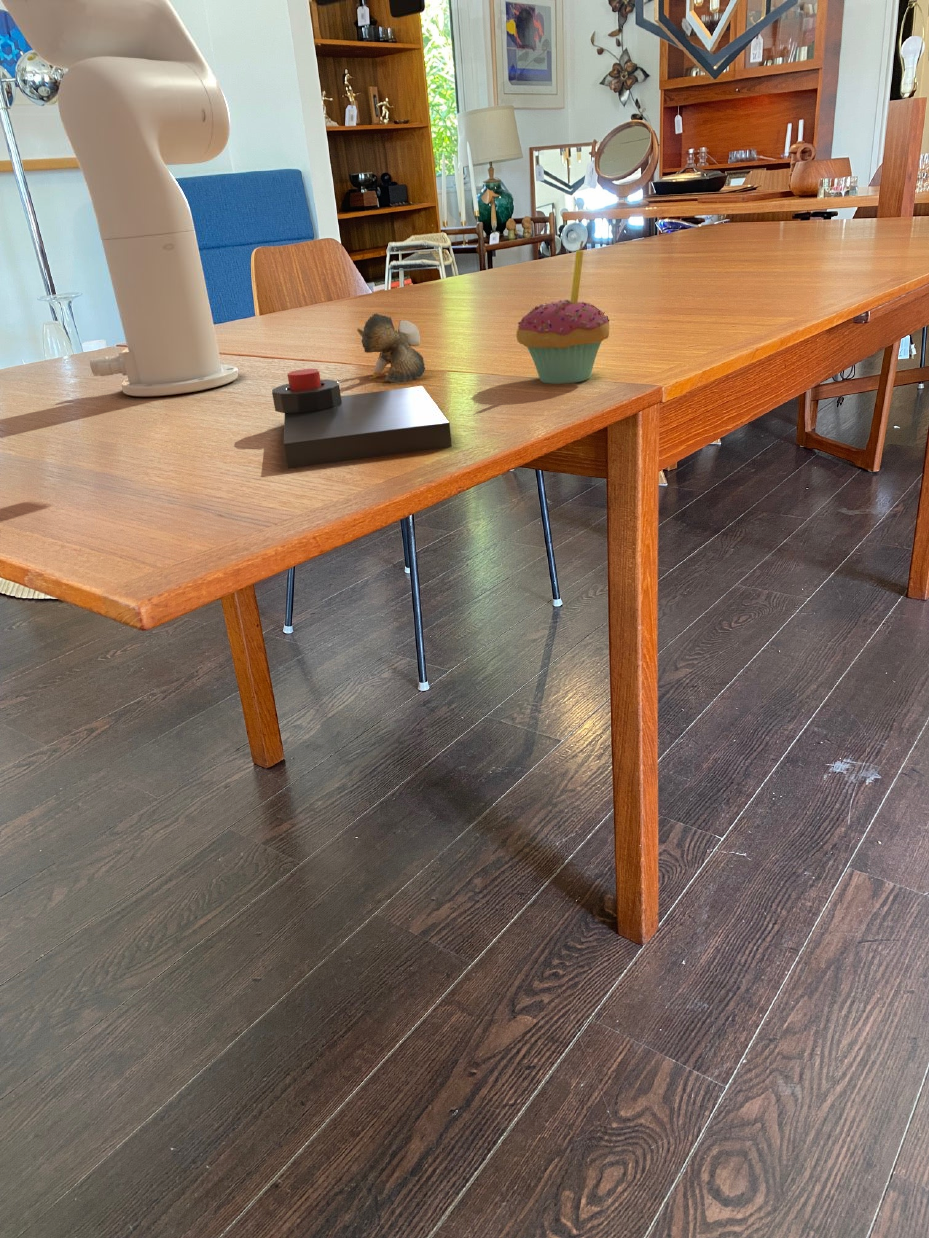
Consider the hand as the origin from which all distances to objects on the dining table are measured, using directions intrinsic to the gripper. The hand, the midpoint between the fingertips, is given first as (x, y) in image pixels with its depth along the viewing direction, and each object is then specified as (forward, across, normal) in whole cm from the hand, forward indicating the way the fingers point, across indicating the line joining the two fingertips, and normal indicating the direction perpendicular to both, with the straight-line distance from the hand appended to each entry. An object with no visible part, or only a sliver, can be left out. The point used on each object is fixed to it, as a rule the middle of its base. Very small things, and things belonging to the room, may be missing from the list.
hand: (373, 9), depth 72 cm
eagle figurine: (+31, -8, -9) cm, 33 cm away
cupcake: (+31, -8, +11) cm, 34 cm away
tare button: (+27, +13, -2) cm, 30 cm away
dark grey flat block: (+31, +14, +4) cm, 34 cm away
